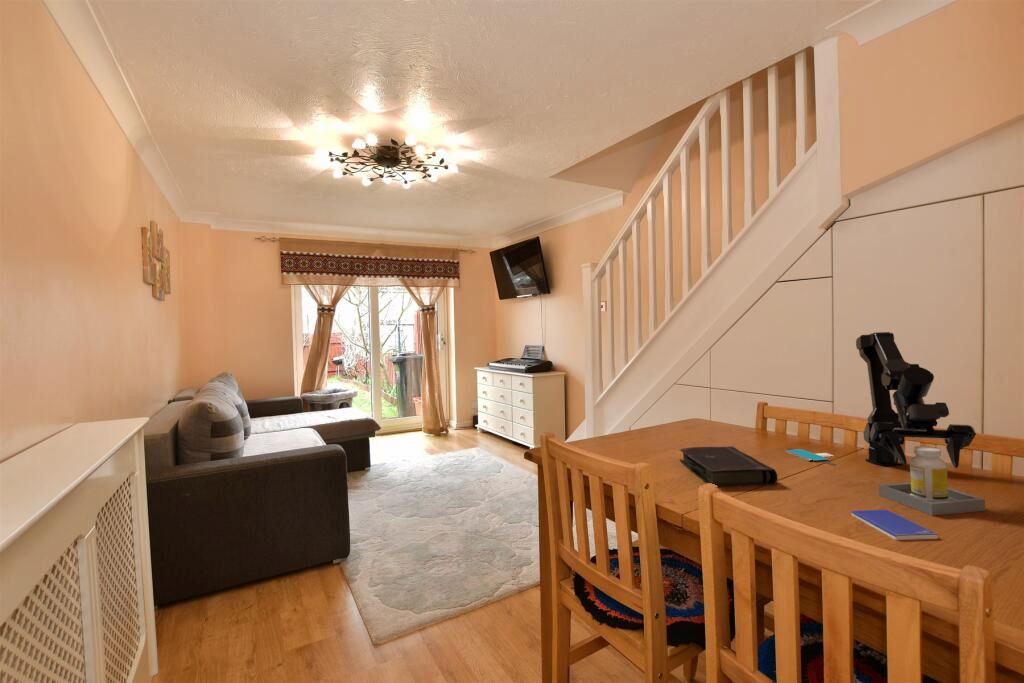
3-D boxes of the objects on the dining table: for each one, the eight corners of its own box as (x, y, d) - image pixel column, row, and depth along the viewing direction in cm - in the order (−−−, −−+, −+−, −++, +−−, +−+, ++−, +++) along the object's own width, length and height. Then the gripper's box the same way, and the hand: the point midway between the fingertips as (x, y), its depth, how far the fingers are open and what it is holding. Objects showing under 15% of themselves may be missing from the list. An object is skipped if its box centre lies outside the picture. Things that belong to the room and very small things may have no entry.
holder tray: (926, 490, 115) (926, 480, 115) (985, 510, 102) (984, 499, 102) (879, 495, 114) (878, 485, 114) (932, 515, 101) (931, 504, 101)
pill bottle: (953, 499, 107) (951, 449, 107) (940, 505, 104) (938, 453, 104) (918, 491, 113) (917, 443, 112) (905, 496, 110) (903, 448, 110)
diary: (735, 460, 149) (734, 445, 149) (778, 486, 124) (777, 467, 124) (677, 462, 150) (676, 447, 150) (708, 489, 125) (707, 470, 125)
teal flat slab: (855, 465, 140) (855, 459, 140) (818, 468, 139) (817, 462, 139) (807, 448, 160) (807, 444, 160) (774, 451, 159) (774, 446, 159)
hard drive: (938, 533, 91) (888, 509, 103) (895, 534, 91) (851, 510, 103) (938, 541, 91) (888, 516, 103) (895, 542, 91) (851, 517, 103)
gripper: (871, 389, 115) (887, 444, 105) (970, 390, 107) (997, 449, 98) (863, 415, 122) (877, 469, 113) (956, 418, 115) (979, 475, 105)
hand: (930, 465), depth 107 cm, fingers open, 9 cm apart
